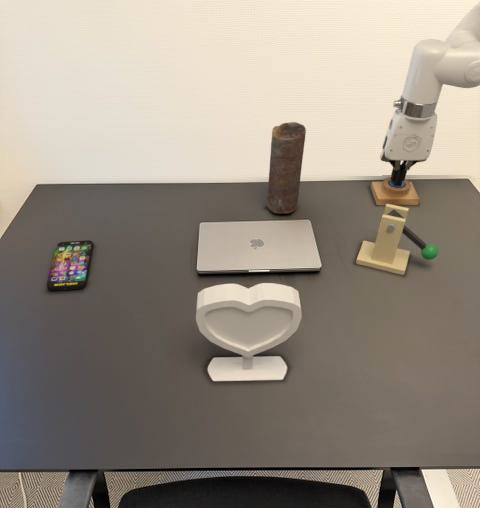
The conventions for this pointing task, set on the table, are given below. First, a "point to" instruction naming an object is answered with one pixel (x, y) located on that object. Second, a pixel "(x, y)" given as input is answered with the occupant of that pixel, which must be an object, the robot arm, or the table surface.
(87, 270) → the smartphone
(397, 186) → the button
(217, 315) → the heart sculpture
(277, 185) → the rusty metal cylinder
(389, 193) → the button block
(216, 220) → the table surface
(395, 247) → the switch bracket
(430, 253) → the lever
